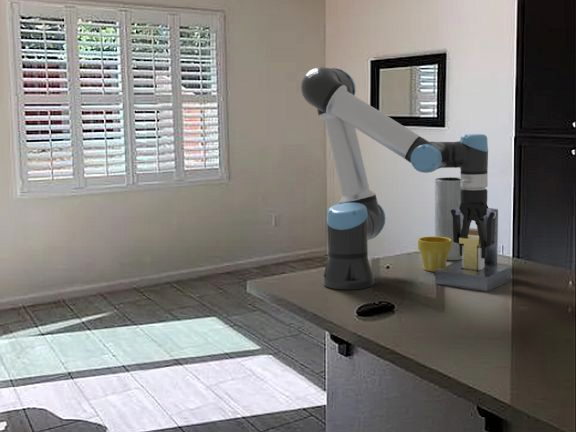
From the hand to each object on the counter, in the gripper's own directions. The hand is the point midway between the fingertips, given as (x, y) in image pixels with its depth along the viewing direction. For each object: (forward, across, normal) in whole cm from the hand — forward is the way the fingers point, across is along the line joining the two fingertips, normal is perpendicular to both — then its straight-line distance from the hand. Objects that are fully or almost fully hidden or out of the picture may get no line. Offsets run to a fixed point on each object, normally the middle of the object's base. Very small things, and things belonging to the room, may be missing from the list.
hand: (473, 267), depth 197 cm
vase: (+4, -21, +26) cm, 34 cm away
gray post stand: (+4, 0, +2) cm, 5 cm away
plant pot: (+4, -17, +8) cm, 19 cm away
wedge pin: (+2, 0, 0) cm, 2 cm away
